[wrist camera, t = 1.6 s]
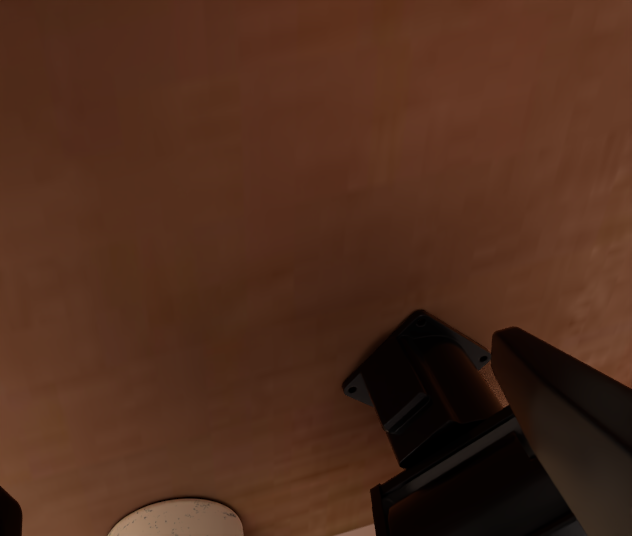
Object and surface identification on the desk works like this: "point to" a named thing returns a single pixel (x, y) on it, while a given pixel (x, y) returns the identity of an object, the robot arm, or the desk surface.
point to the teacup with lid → (180, 520)
